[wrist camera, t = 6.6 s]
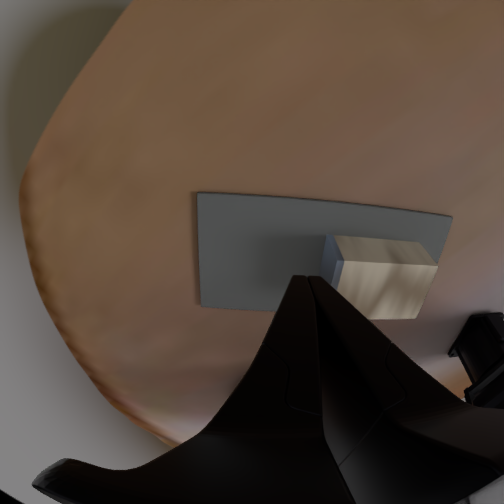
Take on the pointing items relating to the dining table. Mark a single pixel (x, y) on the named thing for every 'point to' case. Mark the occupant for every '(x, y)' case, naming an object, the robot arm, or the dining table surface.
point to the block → (379, 274)
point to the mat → (288, 241)
